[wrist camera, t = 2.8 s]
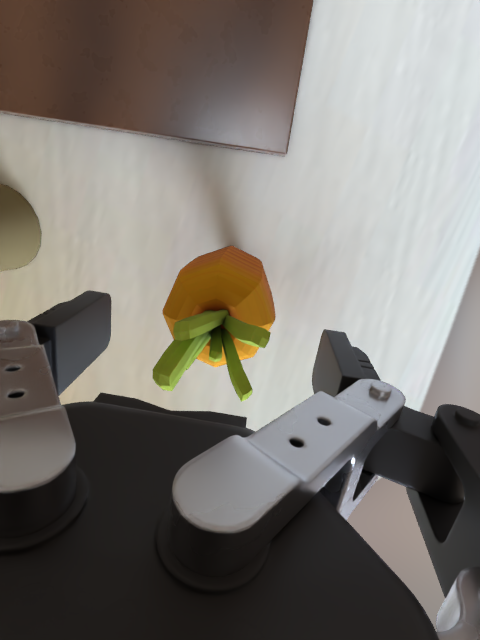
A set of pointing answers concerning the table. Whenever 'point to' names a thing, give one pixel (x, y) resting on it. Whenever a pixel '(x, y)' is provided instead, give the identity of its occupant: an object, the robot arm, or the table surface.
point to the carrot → (217, 317)
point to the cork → (17, 230)
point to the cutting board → (158, 67)
